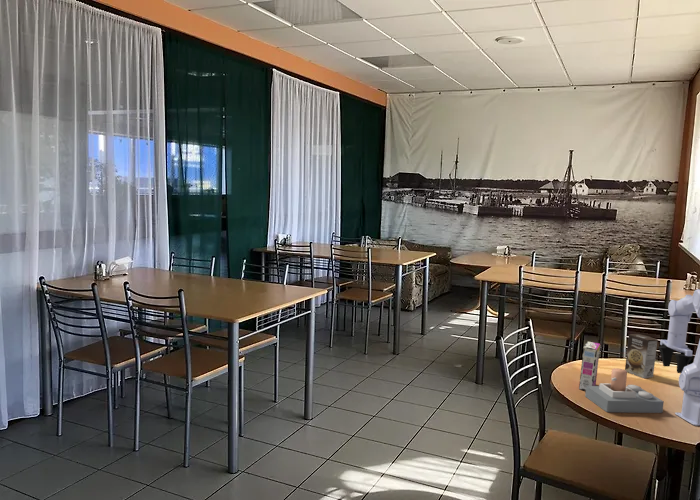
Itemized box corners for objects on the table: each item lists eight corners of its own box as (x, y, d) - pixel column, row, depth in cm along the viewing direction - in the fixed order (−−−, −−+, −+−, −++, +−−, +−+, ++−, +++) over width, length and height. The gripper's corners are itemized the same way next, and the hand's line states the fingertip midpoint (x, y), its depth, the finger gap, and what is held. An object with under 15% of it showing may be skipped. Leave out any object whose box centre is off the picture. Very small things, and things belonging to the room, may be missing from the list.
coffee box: (623, 371, 229) (627, 334, 228) (634, 370, 232) (638, 333, 230) (643, 378, 221) (647, 339, 219) (654, 377, 224) (658, 338, 222)
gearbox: (662, 412, 185) (664, 395, 185) (606, 412, 184) (608, 394, 183) (637, 397, 199) (639, 381, 199) (585, 396, 197) (586, 380, 197)
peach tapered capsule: (627, 393, 190) (629, 371, 189) (617, 397, 186) (619, 374, 186) (614, 389, 194) (616, 367, 193) (604, 393, 190) (606, 370, 189)
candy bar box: (593, 392, 202) (597, 349, 200) (578, 389, 204) (582, 347, 203) (596, 384, 211) (600, 343, 210) (582, 381, 214) (586, 340, 212)
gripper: (702, 339, 192) (697, 376, 194) (674, 328, 207) (670, 363, 208) (683, 338, 191) (679, 375, 193) (656, 328, 206) (652, 362, 207)
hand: (673, 369), depth 200 cm, fingers open, 7 cm apart
